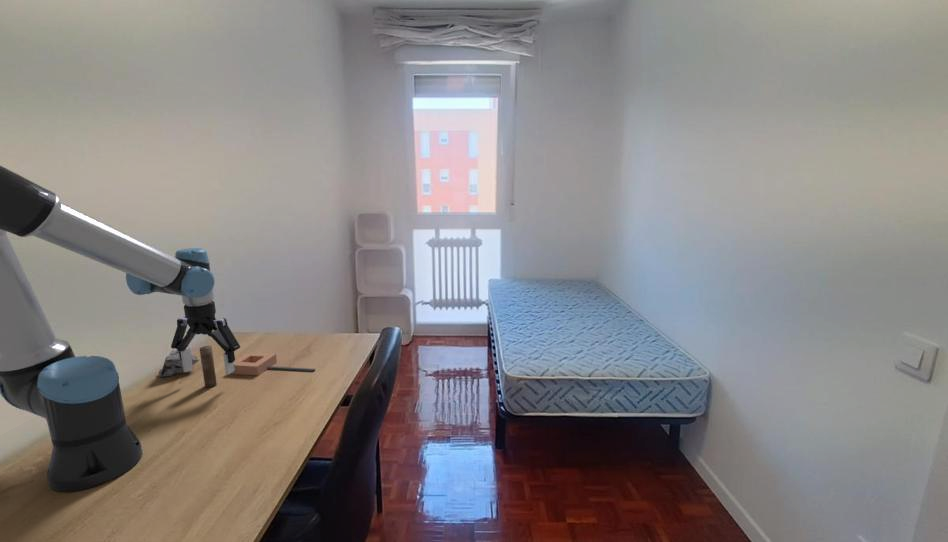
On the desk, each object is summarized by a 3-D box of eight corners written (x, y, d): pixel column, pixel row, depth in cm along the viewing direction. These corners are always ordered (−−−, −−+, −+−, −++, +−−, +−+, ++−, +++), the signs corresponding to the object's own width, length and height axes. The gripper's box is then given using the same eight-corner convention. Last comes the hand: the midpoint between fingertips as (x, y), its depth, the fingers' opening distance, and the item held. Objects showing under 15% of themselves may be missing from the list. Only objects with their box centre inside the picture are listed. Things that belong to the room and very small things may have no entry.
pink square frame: (258, 375, 134) (257, 366, 133) (229, 373, 135) (228, 364, 134) (276, 362, 144) (275, 353, 143) (249, 360, 145) (248, 352, 144)
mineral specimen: (179, 383, 140) (176, 387, 131) (155, 370, 137) (150, 374, 128) (201, 357, 143) (199, 360, 134) (178, 344, 140) (174, 346, 132)
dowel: (211, 388, 126) (206, 349, 123) (202, 387, 126) (197, 349, 124) (219, 383, 129) (213, 346, 126) (209, 382, 129) (204, 345, 126)
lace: (313, 371, 136) (313, 369, 136) (267, 369, 138) (267, 367, 138) (315, 370, 137) (315, 368, 137) (268, 368, 139) (268, 366, 139)
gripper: (247, 300, 124) (256, 368, 129) (170, 297, 127) (181, 364, 132) (230, 307, 117) (239, 379, 121) (148, 304, 120) (160, 374, 124)
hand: (209, 371), depth 127 cm, fingers open, 13 cm apart
